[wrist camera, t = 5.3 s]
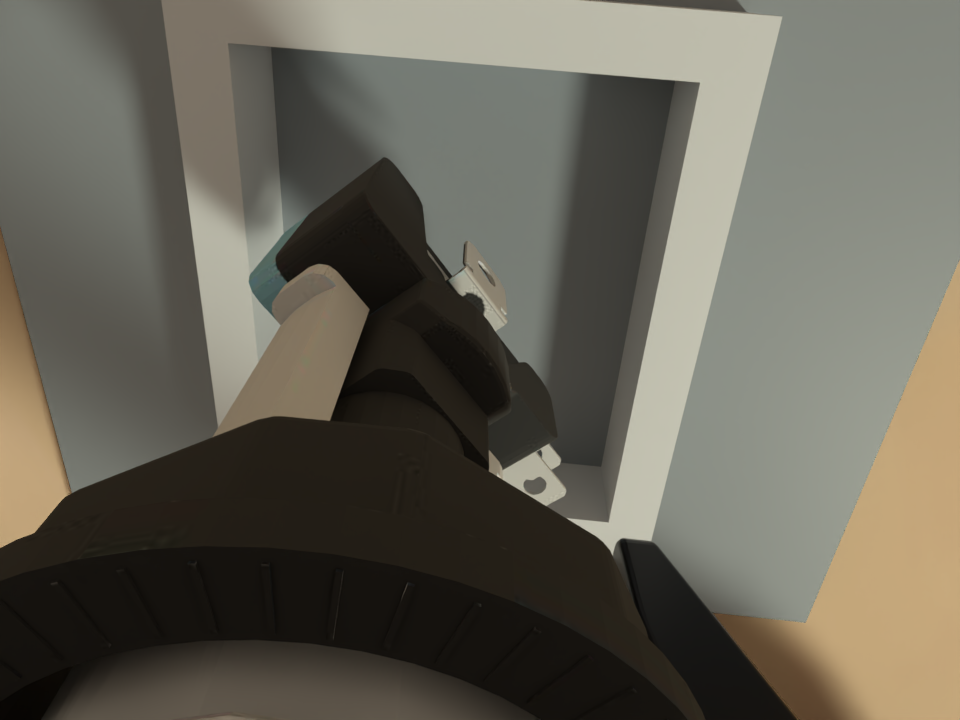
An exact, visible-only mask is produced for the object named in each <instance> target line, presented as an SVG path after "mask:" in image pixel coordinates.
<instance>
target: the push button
mask: <svg viewBox="0 0 960 720" xmlns="http://www.w3.org/2000/svg"><path fill="white" fill-rule="evenodd" d="M463 265H464V266H465V267H464V268H462V269H461V270H460V271H459V272H458V273H456V274H455V275H453V276H452V275H451V274H450V272H449V271H448V270H447V268H446V267H445V266H444V265H443V263H442V262H441V261H440V259H439V258H438V257H437V255H436V254H435V253H434V252H433V250H432V249H431V248H430V246H429V245H428V244H427V243H426V233H425V223H424V213H423V206H422V203H421V201H420V199H419V197H418V195H417V194H416V192H415V190H414V189H413V188H412V186H411V185H410V184H409V182H408V181H407V180H406V178H405V177H404V176H403V174H402V173H401V172H400V171H399V169H398V168H397V167H396V166H395V164H394V163H393V162H392V161H391V160H389V159H388V158H385V157H383V158H382V159H381V160H379V161H378V162H377V163H375V164H374V165H373V166H371V167H370V168H369V169H367V170H366V171H365V172H363V173H362V174H361V175H359V176H358V177H357V178H356V179H354V180H353V181H352V182H350V183H349V184H348V185H346V186H345V187H344V188H342V189H341V190H340V191H338V192H337V193H336V194H334V195H333V196H332V197H331V198H329V199H328V200H327V201H325V202H324V203H323V204H321V205H320V206H319V207H317V208H316V209H315V210H313V211H312V212H311V213H309V214H308V215H307V216H305V217H304V218H303V219H302V220H300V221H299V222H298V223H296V224H295V225H294V226H292V227H291V228H290V229H288V230H287V231H286V232H284V234H283V235H282V236H281V237H280V238H279V240H278V241H277V243H276V244H275V245H274V246H273V247H272V249H271V250H270V251H269V252H268V253H267V255H266V256H265V257H264V258H263V259H262V261H261V262H260V263H259V264H258V265H257V267H256V268H255V269H254V270H253V271H252V273H251V274H250V276H249V281H248V282H249V285H250V288H251V290H252V292H253V294H254V295H255V297H256V298H257V299H258V301H259V302H260V303H261V304H262V305H263V307H264V308H265V309H266V310H267V311H268V312H269V313H270V314H271V315H272V316H273V317H274V318H275V319H276V321H277V322H278V323H279V324H280V325H281V326H280V328H279V329H278V331H277V332H276V334H275V336H274V337H273V339H272V341H271V342H270V344H269V346H268V347H267V349H266V350H265V352H264V354H263V355H262V357H261V359H260V360H259V362H258V364H257V365H256V367H255V368H254V370H253V372H252V373H251V375H250V377H249V378H248V380H247V382H246V383H245V385H244V386H243V388H242V390H241V391H240V393H239V395H238V396H237V398H236V400H235V401H234V403H233V404H232V406H231V408H230V409H229V411H228V413H227V414H226V416H225V418H224V419H223V421H222V422H221V424H220V426H219V427H218V429H217V431H216V432H215V434H214V436H213V437H212V438H209V439H207V440H204V441H201V442H199V443H196V444H194V445H191V446H189V447H186V448H183V449H181V450H178V451H176V452H173V453H171V454H168V455H166V456H163V457H160V458H158V459H155V460H153V461H150V462H148V463H145V464H142V465H140V466H137V467H135V468H132V469H130V470H127V471H125V472H122V473H119V474H117V475H114V476H112V477H109V478H107V479H104V480H102V481H99V482H96V483H94V484H91V485H89V486H86V487H84V488H81V489H78V490H77V491H75V492H73V493H72V494H70V495H68V496H66V497H65V498H64V499H63V500H62V501H61V502H60V503H59V504H58V506H57V507H56V508H55V509H54V510H53V512H52V513H51V514H50V515H49V516H48V518H47V519H46V520H45V521H44V522H43V524H42V525H41V526H40V527H39V528H38V530H37V531H36V532H35V533H34V534H31V535H28V536H26V537H23V538H20V539H18V540H15V541H13V542H11V543H9V544H8V545H6V546H4V547H2V548H0V720H705V717H704V715H703V712H702V710H701V708H700V706H699V705H698V703H697V701H696V699H695V698H694V696H693V694H692V692H691V691H690V689H689V687H688V685H687V684H686V682H685V681H684V679H683V678H682V677H681V675H680V674H679V673H678V672H677V670H676V669H675V668H674V667H673V665H672V664H671V663H670V661H669V660H668V659H667V658H666V656H665V655H664V654H663V653H662V652H661V651H660V650H659V649H658V648H657V647H656V646H655V645H654V644H653V643H652V642H651V641H650V640H649V639H648V635H647V631H646V628H645V626H644V624H643V622H642V619H641V617H640V615H639V613H638V611H637V608H636V606H635V604H634V602H633V600H632V597H631V595H630V593H629V591H628V588H627V586H626V584H625V582H624V580H623V577H622V575H621V573H620V571H619V569H618V566H617V564H616V562H615V560H614V558H613V555H612V553H611V551H610V550H609V548H608V547H607V546H606V545H605V544H604V542H603V541H601V540H600V539H599V538H598V537H596V536H595V535H593V534H591V533H590V532H588V531H586V530H585V529H583V528H582V527H580V526H578V525H577V524H575V523H573V522H572V521H570V520H568V519H567V518H565V517H563V516H562V515H560V514H558V513H557V512H555V511H554V510H552V509H550V508H549V507H547V505H549V504H550V503H552V502H554V501H556V500H558V499H560V498H562V497H563V496H565V494H566V487H565V486H564V485H563V484H562V482H561V481H560V480H559V479H558V477H557V476H556V475H555V474H554V473H553V471H552V469H554V468H555V467H557V466H559V465H560V462H561V458H560V456H559V455H558V454H557V452H556V451H555V450H554V449H553V447H552V446H551V445H550V444H549V443H551V442H553V441H555V440H556V439H557V437H558V434H557V428H556V422H555V417H554V411H553V405H552V400H551V397H550V394H549V392H548V390H547V388H546V386H545V385H544V383H543V382H542V380H541V379H540V378H539V376H538V375H537V374H536V372H535V371H534V370H533V368H532V367H531V366H530V365H529V364H528V363H526V362H518V360H517V359H516V358H515V357H514V355H513V354H512V353H511V351H510V350H509V349H508V348H507V346H506V345H505V344H504V342H503V341H502V340H501V338H500V337H499V336H498V335H497V333H496V332H495V331H497V330H498V329H500V328H501V327H503V326H504V325H505V324H506V323H507V322H508V320H507V318H506V316H505V315H506V314H507V307H506V295H505V290H504V288H503V286H502V284H501V282H500V280H499V279H498V277H497V276H496V274H495V273H494V272H493V270H492V269H491V268H490V266H489V265H488V264H487V262H486V261H485V260H484V258H483V257H482V256H481V254H480V253H479V252H478V250H477V249H476V247H475V246H474V245H473V244H472V243H471V242H469V241H468V240H467V241H466V242H465V243H464V251H463ZM480 268H481V269H482V270H483V271H484V273H485V274H486V276H487V278H488V279H489V281H490V282H489V281H488V280H487V278H486V277H485V276H484V274H483V272H482V271H481V269H480ZM538 450H541V451H542V456H541V457H540V455H539V454H538V453H537V451H538ZM537 477H542V478H543V479H544V480H545V481H546V486H545V487H544V488H543V489H542V490H540V491H538V492H531V491H528V490H527V489H525V488H524V485H523V484H524V481H525V480H526V479H527V480H534V479H536V478H537Z"/></svg>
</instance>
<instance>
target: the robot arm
mask: <svg viewBox="0 0 960 720" xmlns="http://www.w3.org/2000/svg"><path fill="white" fill-rule="evenodd" d="M613 558H614V560H615V562H616V564H617V566H618V569H619V571H620V573H621V575H622V577H623V580H624V582H625V584H626V586H627V588H628V591H629V593H630V595H631V597H632V600H633V602H634V604H635V606H636V608H637V611H638V613H639V615H640V617H641V619H642V622H643V624H644V626H645V628H646V631H647V635H648V639H649V640H650V641H651V642H652V643H653V644H654V645H655V646H656V647H657V648H658V649H659V650H660V651H661V652H662V653H663V654H664V655H665V656H666V658H667V659H668V660H669V661H670V663H671V664H672V665H673V667H674V668H675V669H676V670H677V672H678V673H679V674H680V675H681V677H682V678H683V679H684V681H685V682H686V684H687V685H688V687H689V689H690V691H691V692H692V694H693V696H694V698H695V699H696V701H697V703H698V705H699V706H700V708H701V710H702V712H703V715H704V717H705V720H799V719H798V718H797V717H796V715H795V714H794V713H793V712H792V710H791V709H790V708H789V707H788V706H787V704H786V703H785V702H784V701H783V699H782V698H781V697H780V696H779V694H778V693H777V692H776V691H775V690H774V688H773V687H772V686H771V685H770V683H769V682H768V681H767V680H766V678H765V677H764V676H763V675H762V674H761V672H760V671H759V670H758V669H757V667H756V666H755V665H754V664H753V662H752V661H751V660H750V659H749V657H748V656H747V655H746V654H745V653H744V651H743V650H742V649H741V648H740V646H739V645H738V644H737V643H736V641H735V640H734V639H733V638H732V637H731V635H730V634H729V633H728V632H727V630H726V629H725V628H724V627H723V625H722V624H721V623H720V622H719V621H718V619H717V618H716V617H715V616H714V614H713V613H712V612H711V611H710V609H709V608H708V607H707V606H706V605H705V603H704V602H703V601H702V600H701V598H700V597H699V596H698V595H697V593H696V592H695V591H694V590H693V588H692V587H691V586H690V585H689V584H688V582H687V581H686V580H685V579H684V577H683V576H682V575H681V574H680V572H679V571H678V570H677V569H676V568H675V566H674V565H673V564H672V563H671V561H670V560H669V559H668V558H667V556H666V555H665V554H664V553H663V552H662V550H661V549H660V548H659V547H658V546H657V545H656V544H655V543H654V542H651V541H647V540H638V539H628V538H621V539H620V540H618V541H617V543H616V545H615V548H614V552H613Z"/></svg>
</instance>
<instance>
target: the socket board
mask: <svg viewBox="0 0 960 720" xmlns="http://www.w3.org/2000/svg"><path fill="white" fill-rule="evenodd" d="M383 157H385V158H388V159H389V160H391V161H392V162H393V163H394V164H395V166H396V167H397V168H398V169H399V171H400V172H401V173H402V174H403V176H404V177H405V178H406V180H407V181H408V182H409V184H410V185H411V186H412V188H413V189H414V190H415V192H416V194H417V195H418V197H419V199H420V201H421V203H422V206H423V213H424V223H425V233H426V243H427V244H428V245H429V246H430V248H431V249H432V250H433V252H434V253H435V254H436V255H437V257H438V258H439V259H440V261H441V262H442V263H443V265H444V266H445V267H446V268H447V270H448V271H449V272H450V274H451V275H452V276H453V275H455V274H456V273H458V272H459V271H460V270H461V269H462V268H464V267H465V266H464V265H463V251H464V243H465V242H466V241H467V240H468V241H469V242H471V243H472V244H473V245H474V246H475V247H476V249H477V250H478V252H479V253H480V254H481V256H482V257H483V258H484V260H485V261H486V262H487V264H488V265H489V266H490V268H491V269H492V270H493V272H494V273H495V274H496V276H497V277H498V279H499V280H500V282H501V284H502V286H503V288H504V290H505V295H506V307H507V314H506V315H505V316H506V318H507V320H508V322H507V323H506V324H505V325H504V326H503V327H501V328H500V329H498V330H497V331H495V332H496V333H497V335H498V336H499V337H500V338H501V340H502V341H503V342H504V344H505V345H506V346H507V348H508V349H509V350H510V351H511V353H512V354H513V355H514V357H515V358H516V359H517V360H518V362H526V363H528V364H529V365H530V366H531V367H532V368H533V370H534V371H535V372H536V374H537V375H538V376H539V378H540V379H541V380H542V382H543V383H544V385H545V386H546V388H547V390H548V392H549V394H550V397H551V400H552V405H553V411H554V417H555V422H556V428H557V434H558V437H557V439H556V440H555V441H553V442H551V443H549V444H550V445H551V446H552V447H553V449H554V450H555V451H556V452H557V454H558V455H559V456H560V458H561V462H560V465H559V466H557V467H555V468H554V469H552V471H553V473H554V474H555V475H556V476H557V477H558V479H559V480H560V481H561V482H562V484H563V485H564V486H565V487H566V494H565V496H563V497H562V498H560V499H558V500H556V501H554V502H552V503H550V504H549V505H547V507H549V508H550V509H552V510H554V511H555V512H557V513H558V514H560V515H562V516H563V517H565V518H567V519H568V520H570V521H572V522H573V523H575V524H577V525H578V526H580V527H582V528H583V529H585V530H586V531H588V532H590V533H591V534H593V535H595V536H596V537H598V538H599V539H600V540H601V541H603V542H604V544H605V545H606V546H607V547H608V548H609V550H610V551H611V553H612V555H613V552H614V548H615V545H616V543H617V541H618V540H620V539H621V538H628V539H638V540H647V541H651V542H654V543H655V544H656V545H657V546H658V547H659V548H660V549H661V550H662V552H663V553H664V554H665V555H666V556H667V558H668V559H669V560H670V561H671V563H672V564H673V565H674V566H675V568H676V569H677V570H678V571H679V572H680V574H681V575H682V576H683V577H684V579H685V580H686V581H687V582H688V584H689V585H690V586H691V587H692V588H693V590H694V591H695V592H696V593H697V595H698V596H699V597H700V598H701V600H702V601H703V602H704V603H705V605H706V606H707V607H708V608H709V609H710V611H711V612H712V613H720V614H729V615H738V616H748V617H757V618H767V619H776V620H785V621H795V622H804V623H806V620H807V618H808V616H809V613H810V611H811V609H812V606H813V604H814V602H815V599H816V597H817V595H818V592H819V590H820V587H821V585H822V583H823V580H824V578H825V576H826V573H827V571H828V569H829V566H830V564H831V562H832V559H833V557H834V554H835V552H836V550H837V547H838V545H839V543H840V540H841V538H842V536H843V533H844V531H845V528H846V526H847V524H848V521H849V519H850V517H851V514H852V512H853V510H854V507H855V505H856V503H857V500H858V498H859V495H860V493H861V491H862V488H863V486H864V484H865V481H866V479H867V477H868V474H869V472H870V470H871V467H872V465H873V462H874V460H875V458H876V455H877V453H878V451H879V448H880V446H881V444H882V441H883V439H884V437H885V434H886V432H887V429H888V427H889V425H890V422H891V420H892V418H893V415H894V413H895V411H896V408H897V406H898V403H899V401H900V399H901V396H902V394H903V392H904V389H905V387H906V385H907V382H908V380H909V378H910V375H911V373H912V370H913V368H914V366H915V363H916V361H917V359H918V356H919V354H920V352H921V349H922V347H923V345H924V342H925V340H926V337H927V335H928V333H929V330H930V328H931V326H932V323H933V321H934V319H935V316H936V314H937V312H938V309H939V307H940V304H941V302H942V300H943V297H944V295H945V293H946V290H947V288H948V286H949V283H950V281H951V278H952V276H953V274H954V271H955V269H956V267H957V264H958V262H959V260H960V0H0V227H1V231H2V235H3V239H4V242H5V246H6V250H7V253H8V257H9V261H10V265H11V268H12V272H13V276H14V279H15V283H16V287H17V291H18V294H19V298H20V302H21V305H22V309H23V313H24V317H25V320H26V324H27V328H28V331H29V335H30V339H31V343H32V346H33V350H34V354H35V358H36V361H37V365H38V369H39V372H40V376H41V380H42V384H43V387H44V391H45V395H46V398H47V402H48V406H49V410H50V413H51V417H52V421H53V424H54V428H55V432H56V436H57V439H58V443H59V447H60V450H61V454H62V458H63V462H64V465H65V469H66V473H67V476H68V480H69V484H70V488H71V491H72V493H73V492H75V491H77V490H78V489H81V488H84V487H86V486H89V485H91V484H94V483H96V482H99V481H102V480H104V479H107V478H109V477H112V476H114V475H117V474H119V473H122V472H125V471H127V470H130V469H132V468H135V467H137V466H140V465H142V464H145V463H148V462H150V461H153V460H155V459H158V458H160V457H163V456H166V455H168V454H171V453H173V452H176V451H178V450H181V449H183V448H186V447H189V446H191V445H194V444H196V443H199V442H201V441H204V440H207V439H209V438H212V437H213V436H214V434H215V432H216V431H217V429H218V427H219V426H220V424H221V422H222V421H223V419H224V418H225V416H226V414H227V413H228V411H229V409H230V408H231V406H232V404H233V403H234V401H235V400H236V398H237V396H238V395H239V393H240V391H241V390H242V388H243V386H244V385H245V383H246V382H247V380H248V378H249V377H250V375H251V373H252V372H253V370H254V368H255V367H256V365H257V364H258V362H259V360H260V359H261V357H262V355H263V354H264V352H265V350H266V349H267V347H268V346H269V344H270V342H271V341H272V339H273V337H274V336H275V334H276V332H277V331H278V329H279V328H280V326H281V325H280V324H279V323H278V322H277V321H276V319H275V318H274V317H273V316H272V315H271V314H270V313H269V312H268V311H267V310H266V309H265V308H264V307H263V305H262V304H261V303H260V302H259V301H258V299H257V298H256V297H255V295H254V294H253V292H252V290H251V288H250V285H249V282H248V281H249V276H250V274H251V273H252V271H253V270H254V269H255V268H256V267H257V265H258V264H259V263H260V262H261V261H262V259H263V258H264V257H265V256H266V255H267V253H268V252H269V251H270V250H271V249H272V247H273V246H274V245H275V244H276V243H277V241H278V240H279V238H280V237H281V236H282V235H283V234H284V232H286V231H287V230H288V229H290V228H291V227H292V226H294V225H295V224H296V223H298V222H299V221H300V220H302V219H303V218H304V217H305V216H307V215H308V214H309V213H311V212H312V211H313V210H315V209H316V208H317V207H319V206H320V205H321V204H323V203H324V202H325V201H327V200H328V199H329V198H331V197H332V196H333V195H334V194H336V193H337V192H338V191H340V190H341V189H342V188H344V187H345V186H346V185H348V184H349V183H350V182H352V181H353V180H354V179H356V178H357V177H358V176H359V175H361V174H362V173H363V172H365V171H366V170H367V169H369V168H370V167H371V166H373V165H374V164H375V163H377V162H378V161H379V160H381V159H382V158H383ZM480 269H481V268H480ZM481 271H482V272H483V274H484V276H485V277H486V278H487V276H486V274H485V273H484V271H483V270H482V269H481ZM487 280H488V281H489V279H488V278H487ZM489 282H490V281H489ZM537 453H538V454H539V455H540V457H541V456H542V451H541V450H538V451H537ZM523 485H524V488H525V489H527V490H528V491H531V492H538V491H540V490H542V489H543V488H544V487H545V486H546V481H545V480H544V479H543V478H542V477H537V478H536V479H534V480H527V479H526V480H525V481H524V484H523Z"/></svg>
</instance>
